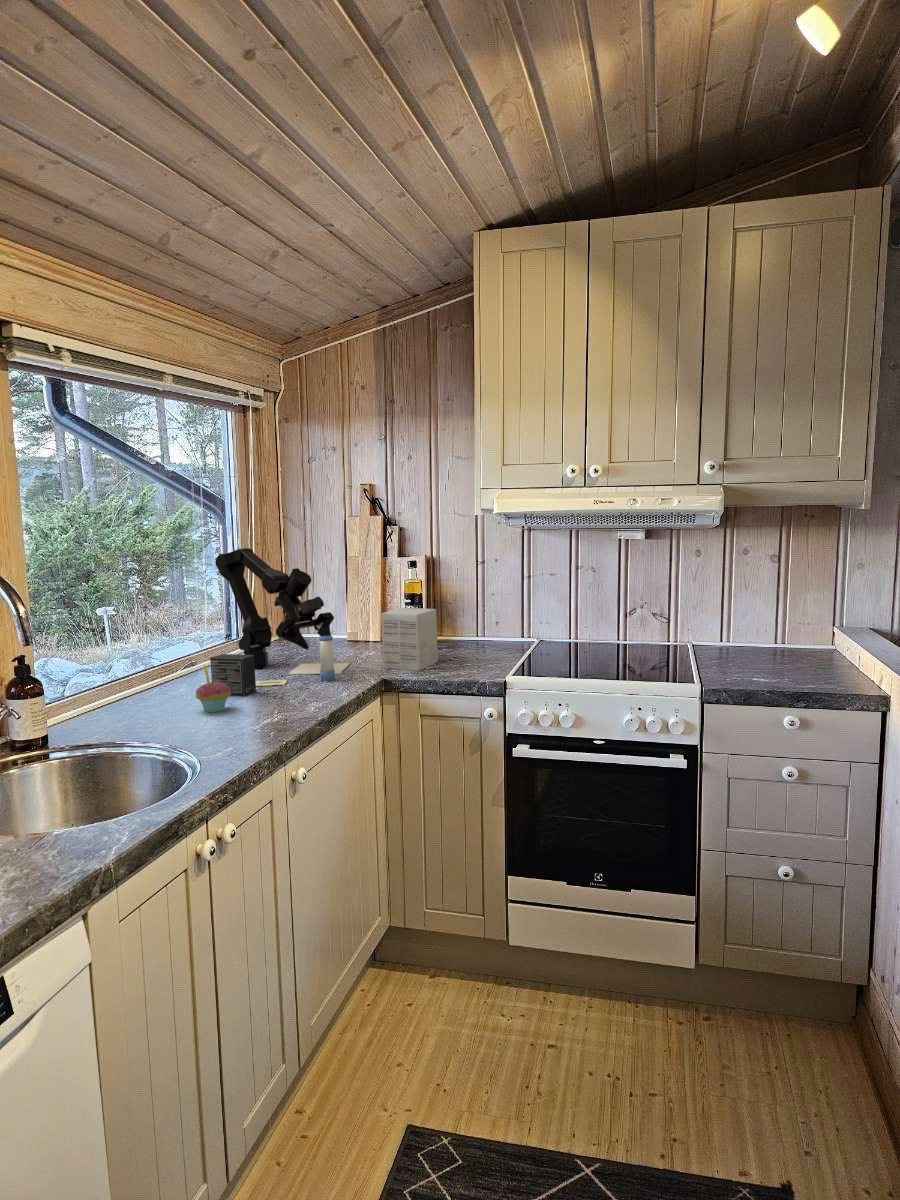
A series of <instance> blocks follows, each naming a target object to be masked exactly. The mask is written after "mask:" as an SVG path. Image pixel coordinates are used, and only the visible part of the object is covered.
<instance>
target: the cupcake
mask: <svg viewBox="0 0 900 1200" xmlns="http://www.w3.org/2000/svg"><path fill="white" fill-rule="evenodd" d="M203 669H204V673H205V678H206V683H204V684H202V685H200V686H199V687H198V688H196V690H195V698H196V699H197V700H199V701H200V703H201V705H202V707H203V710H204V712H206V711H207V712H206V713H217V712H216V711H218V712H222V711H223V709H225V706H226V703H227V699H228V697H230V696H232V695H231V692H230V688H229V686H227V685H225V684H224V683H221V682H212V681H210V677H209V670H208V667H207V666H206V665H205V664H204V668H203ZM221 710H222V711H221Z"/></svg>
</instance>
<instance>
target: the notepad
mask: <svg viewBox="0 0 900 1200" xmlns="http://www.w3.org/2000/svg"><path fill="white" fill-rule="evenodd" d="M350 663H352V662H351V661H339V662H338V661H334V670H335V675H341V674H342V673H343V672H344V671H345V670H346V669H347V668H348V667H349V666H350V665H351V664H350ZM349 664H350V665H349ZM348 665H349V666H348ZM347 666H348V667H347ZM346 667H347V668H346ZM345 668H346V669H345ZM344 669H345V670H344ZM320 670H321V663H320V661H319V662H318V661H317V662H314V661H313V662H301V663H300V664H298V666H295V668H293V670H291V671H290V672H289V673H288V675H289V674H320ZM343 670H344V671H343ZM342 671H343V672H342Z"/></svg>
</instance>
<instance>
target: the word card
mask: <svg viewBox="0 0 900 1200" xmlns="http://www.w3.org/2000/svg"><path fill="white" fill-rule="evenodd" d="M255 681H256V686H268V687H273V686H272V685H285V684H287V682H288V679H275V680H255ZM285 686H286V685H285Z"/></svg>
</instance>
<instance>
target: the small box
mask: <svg viewBox="0 0 900 1200" xmlns="http://www.w3.org/2000/svg"><path fill="white" fill-rule="evenodd" d="M209 662H210V673H211V682H221V683H224V684H225V685H227V686H229V688H230V692H231V695H230V696H233V695H237V697H239V696H240V697H245V696H247V694H248V695H251V694H252V692H253V693H255V692H257V687H256V681H257V680H256V669H255V663H254V655H244V654H237V653H236V654H232V653H229V654H227V653H222V654H219V655H215V656H210V657H209ZM238 695H239V696H238Z"/></svg>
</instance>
